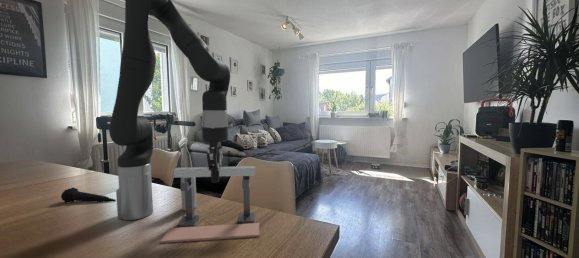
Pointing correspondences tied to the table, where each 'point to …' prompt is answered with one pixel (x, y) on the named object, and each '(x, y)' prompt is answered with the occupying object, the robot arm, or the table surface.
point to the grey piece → (184, 193)
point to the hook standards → (192, 219)
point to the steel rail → (207, 173)
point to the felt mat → (211, 232)
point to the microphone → (82, 196)
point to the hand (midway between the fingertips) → (216, 180)
